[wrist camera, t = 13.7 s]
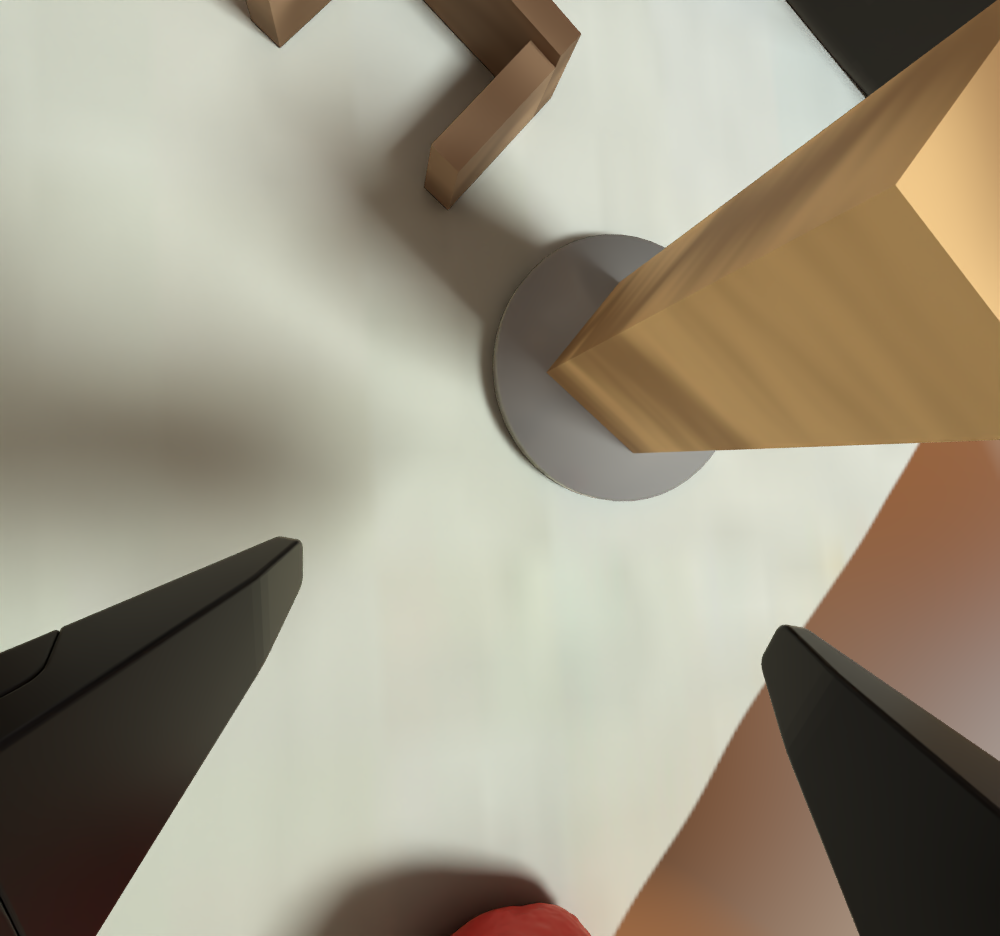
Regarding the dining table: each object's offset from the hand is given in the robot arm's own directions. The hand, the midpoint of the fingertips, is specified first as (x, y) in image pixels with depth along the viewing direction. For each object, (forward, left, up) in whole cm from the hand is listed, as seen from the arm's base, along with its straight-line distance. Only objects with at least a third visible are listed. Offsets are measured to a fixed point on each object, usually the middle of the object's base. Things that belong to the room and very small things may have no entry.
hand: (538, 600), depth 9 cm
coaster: (+7, +7, -10) cm, 14 cm away
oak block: (+7, +7, -9) cm, 13 cm away
